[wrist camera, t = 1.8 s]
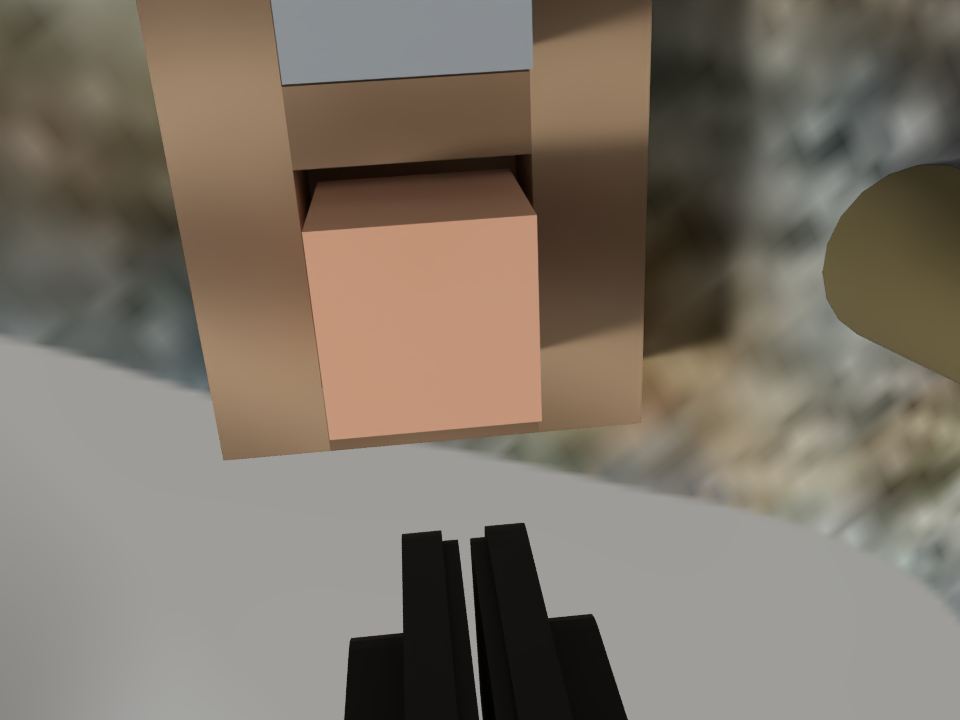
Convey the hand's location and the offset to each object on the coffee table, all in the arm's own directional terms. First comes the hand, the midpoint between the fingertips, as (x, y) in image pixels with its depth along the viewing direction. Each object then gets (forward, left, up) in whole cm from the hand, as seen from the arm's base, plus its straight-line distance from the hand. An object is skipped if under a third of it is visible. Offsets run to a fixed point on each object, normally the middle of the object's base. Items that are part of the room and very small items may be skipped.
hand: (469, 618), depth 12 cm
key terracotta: (-1, 0, -14) cm, 14 cm away
